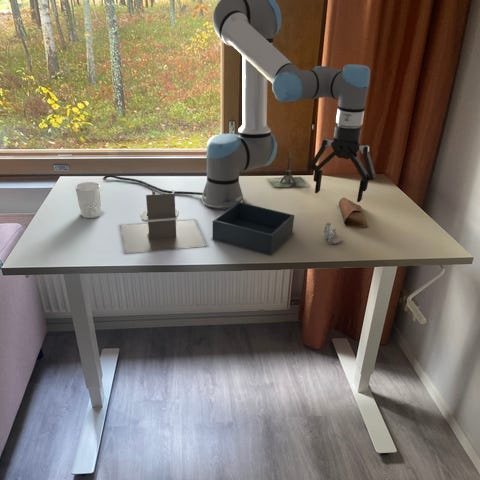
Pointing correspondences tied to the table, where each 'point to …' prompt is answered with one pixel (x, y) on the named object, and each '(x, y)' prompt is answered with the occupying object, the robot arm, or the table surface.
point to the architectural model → (161, 228)
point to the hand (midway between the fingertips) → (337, 196)
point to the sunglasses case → (352, 213)
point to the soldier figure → (330, 234)
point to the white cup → (89, 199)
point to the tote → (253, 227)
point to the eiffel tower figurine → (288, 178)
